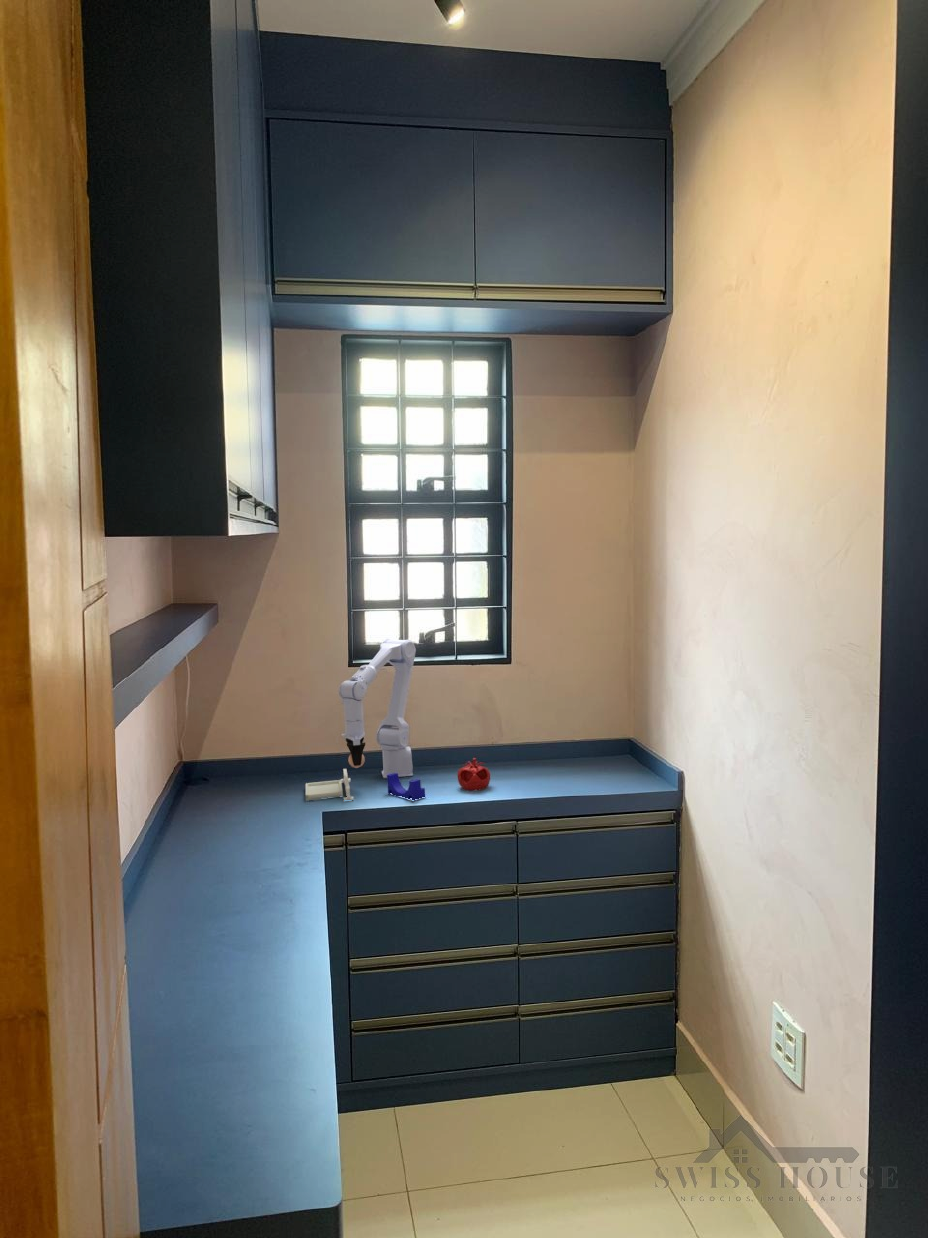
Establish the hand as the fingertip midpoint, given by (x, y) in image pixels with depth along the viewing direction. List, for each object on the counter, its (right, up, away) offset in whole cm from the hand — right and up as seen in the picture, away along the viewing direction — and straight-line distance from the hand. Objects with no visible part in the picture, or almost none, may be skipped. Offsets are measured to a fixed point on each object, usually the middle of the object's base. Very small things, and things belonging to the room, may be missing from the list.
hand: (356, 763), depth 269 cm
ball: (0, +1, 0) cm, 1 cm away
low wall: (-3, -9, 0) cm, 9 cm away
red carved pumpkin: (+36, -7, -3) cm, 37 cm away
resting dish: (-10, -9, -1) cm, 13 cm away
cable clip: (+16, -9, -7) cm, 20 cm away
